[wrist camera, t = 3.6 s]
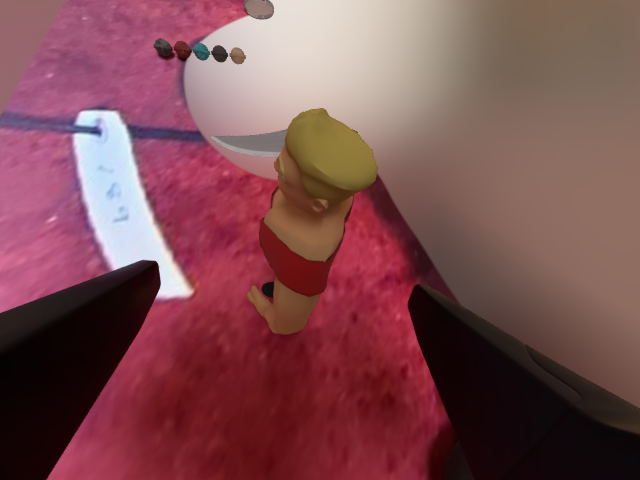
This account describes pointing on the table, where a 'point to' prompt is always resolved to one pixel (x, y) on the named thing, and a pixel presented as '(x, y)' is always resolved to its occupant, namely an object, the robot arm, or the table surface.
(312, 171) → the action figure
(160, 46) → the beads
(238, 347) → the table surface
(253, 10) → the grey flat disc
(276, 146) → the knife
